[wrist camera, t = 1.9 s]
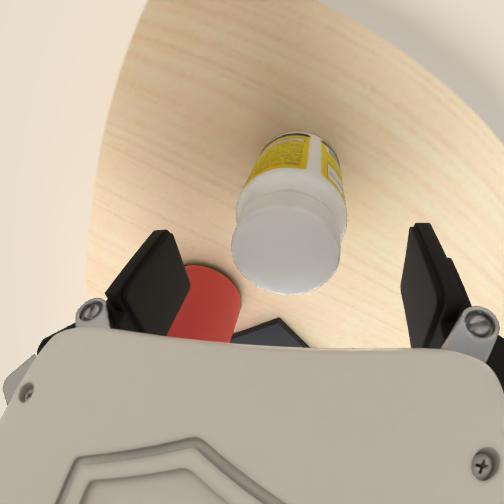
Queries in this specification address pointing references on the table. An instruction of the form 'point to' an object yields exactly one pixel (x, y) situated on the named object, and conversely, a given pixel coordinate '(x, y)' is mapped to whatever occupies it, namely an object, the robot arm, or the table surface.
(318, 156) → the supplement bottle
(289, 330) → the mat
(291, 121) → the table surface
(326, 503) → the robot arm
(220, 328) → the beer can
